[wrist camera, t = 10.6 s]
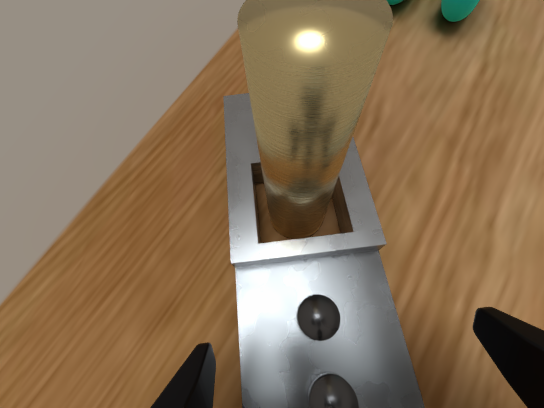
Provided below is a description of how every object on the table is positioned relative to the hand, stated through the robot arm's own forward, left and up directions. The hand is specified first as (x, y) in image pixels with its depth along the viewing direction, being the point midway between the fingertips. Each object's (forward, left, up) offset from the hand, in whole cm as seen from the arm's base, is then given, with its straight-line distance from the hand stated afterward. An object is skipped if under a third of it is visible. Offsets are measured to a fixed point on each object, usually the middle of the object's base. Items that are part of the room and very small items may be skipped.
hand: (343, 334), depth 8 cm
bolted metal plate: (+6, -2, -9) cm, 11 cm away
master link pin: (+8, -2, -9) cm, 12 cm away
